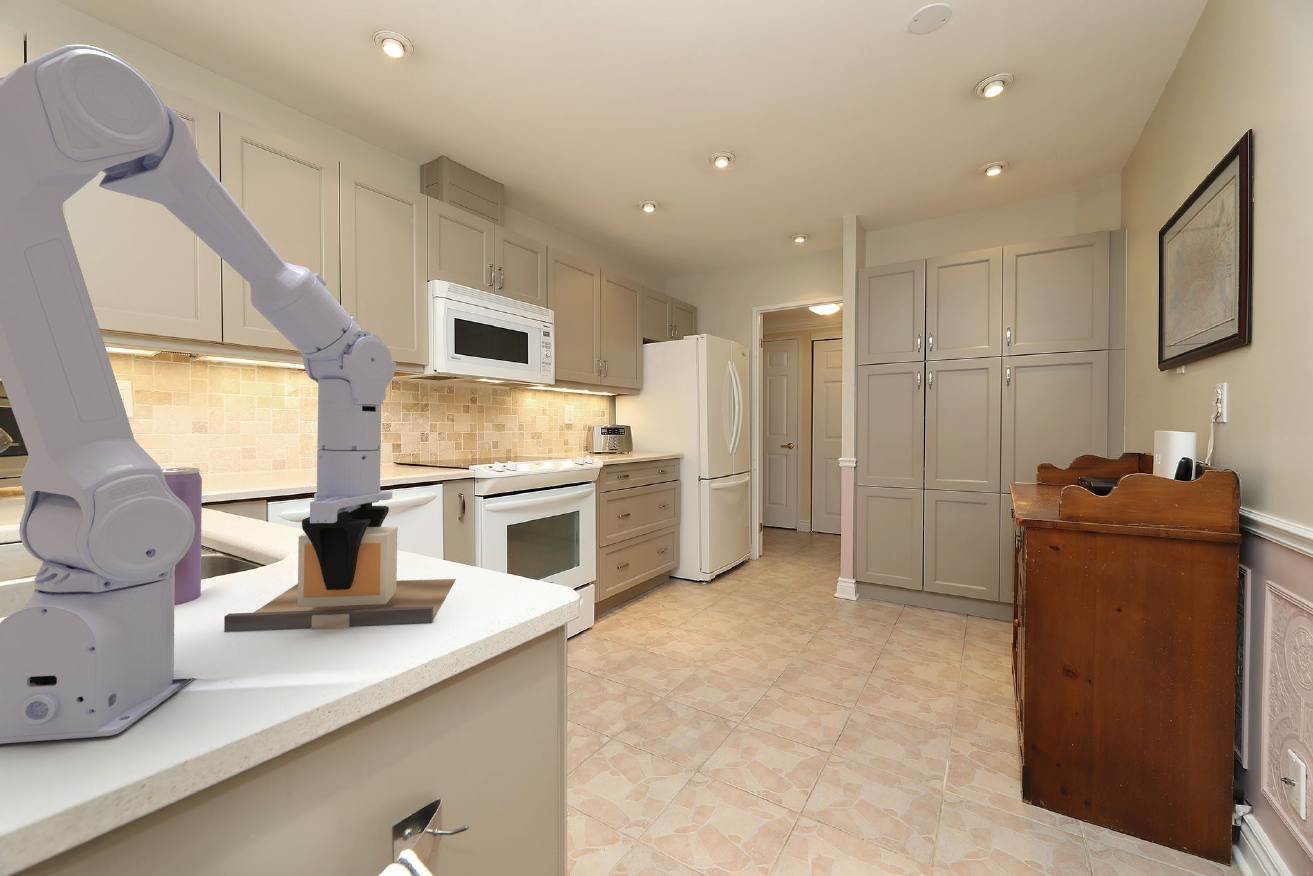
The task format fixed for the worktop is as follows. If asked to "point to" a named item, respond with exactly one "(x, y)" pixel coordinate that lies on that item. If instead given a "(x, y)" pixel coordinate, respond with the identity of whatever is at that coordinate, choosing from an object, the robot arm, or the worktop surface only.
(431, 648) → the worktop surface
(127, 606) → the robot arm
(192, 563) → the beverage can
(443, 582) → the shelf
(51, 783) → the worktop surface
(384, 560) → the product box
